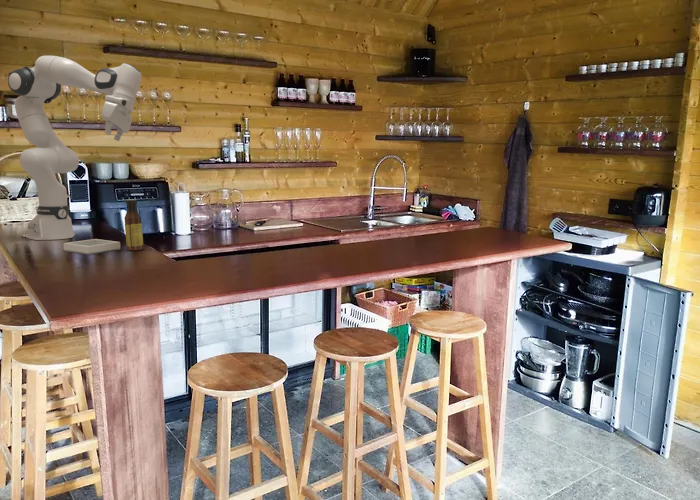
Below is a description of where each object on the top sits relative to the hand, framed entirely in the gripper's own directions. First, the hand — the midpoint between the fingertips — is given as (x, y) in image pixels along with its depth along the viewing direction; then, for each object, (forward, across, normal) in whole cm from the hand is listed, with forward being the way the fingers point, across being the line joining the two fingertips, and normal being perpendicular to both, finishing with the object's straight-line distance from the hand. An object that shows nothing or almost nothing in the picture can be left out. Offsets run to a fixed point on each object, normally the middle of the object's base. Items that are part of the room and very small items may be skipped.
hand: (112, 137), depth 230 cm
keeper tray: (+45, +2, +6) cm, 46 cm away
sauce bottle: (+41, -1, +21) cm, 46 cm away
